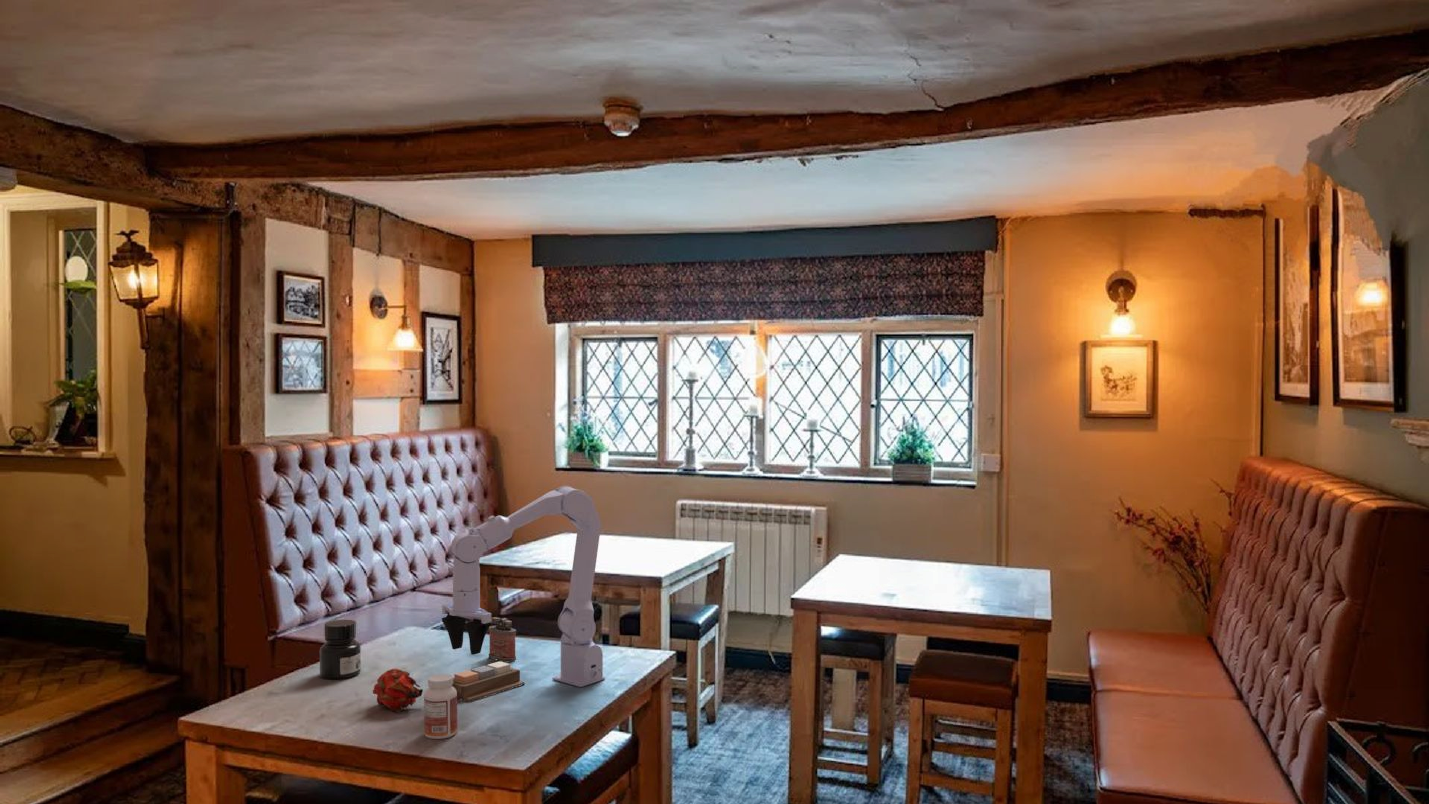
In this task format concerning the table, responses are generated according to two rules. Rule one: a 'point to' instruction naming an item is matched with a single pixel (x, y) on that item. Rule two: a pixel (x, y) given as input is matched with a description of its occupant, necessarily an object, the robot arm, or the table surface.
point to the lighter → (502, 640)
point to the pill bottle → (440, 707)
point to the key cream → (500, 667)
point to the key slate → (484, 672)
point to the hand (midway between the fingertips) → (466, 651)
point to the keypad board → (488, 685)
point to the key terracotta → (466, 677)
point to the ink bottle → (340, 651)
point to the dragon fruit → (396, 689)
